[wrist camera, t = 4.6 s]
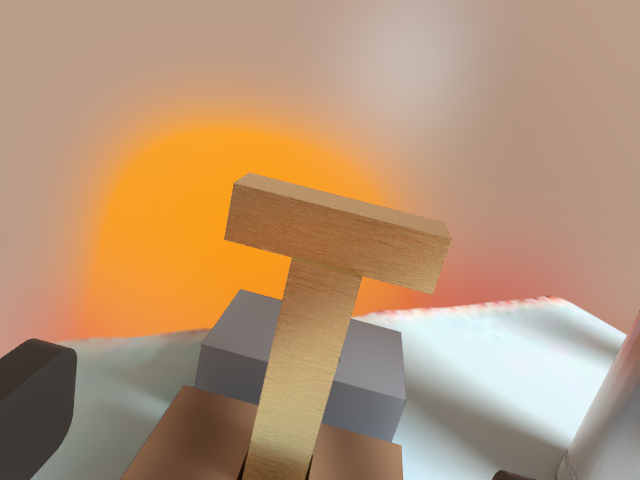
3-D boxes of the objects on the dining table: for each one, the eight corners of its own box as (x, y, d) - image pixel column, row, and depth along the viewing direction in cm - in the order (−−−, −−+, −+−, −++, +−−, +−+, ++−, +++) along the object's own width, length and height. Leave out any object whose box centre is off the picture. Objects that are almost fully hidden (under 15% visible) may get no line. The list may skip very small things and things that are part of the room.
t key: (344, 517, 27) (443, 220, 21) (340, 567, 24) (452, 241, 18) (196, 475, 27) (251, 171, 21) (175, 519, 25) (231, 184, 19)
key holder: (381, 390, 41) (400, 332, 39) (381, 469, 32) (406, 400, 31) (229, 348, 42) (240, 289, 40) (189, 415, 33) (201, 343, 31)
